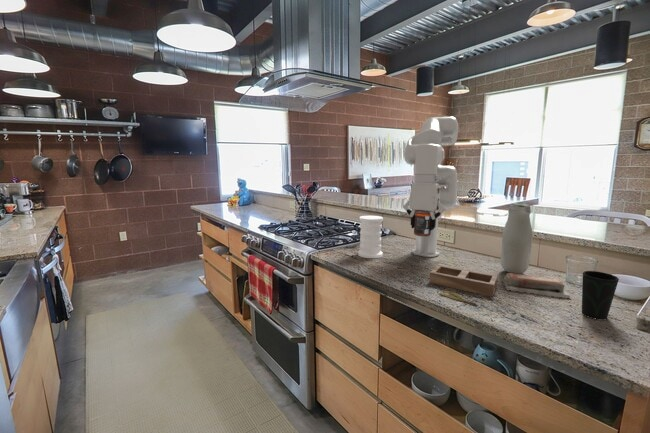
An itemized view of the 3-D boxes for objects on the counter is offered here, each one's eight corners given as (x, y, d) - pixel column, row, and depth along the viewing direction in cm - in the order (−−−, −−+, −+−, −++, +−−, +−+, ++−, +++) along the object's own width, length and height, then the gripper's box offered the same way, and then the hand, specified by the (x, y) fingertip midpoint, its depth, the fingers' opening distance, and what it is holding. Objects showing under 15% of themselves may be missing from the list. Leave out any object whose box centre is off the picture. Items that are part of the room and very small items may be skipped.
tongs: (476, 309, 95) (477, 303, 95) (437, 297, 105) (438, 291, 105) (483, 306, 98) (483, 299, 98) (444, 294, 108) (444, 288, 108)
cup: (570, 309, 94) (575, 271, 92) (594, 308, 95) (600, 270, 93) (594, 322, 87) (600, 280, 85) (619, 321, 87) (626, 280, 85)
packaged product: (507, 278, 108) (503, 269, 117) (506, 291, 108) (502, 281, 117) (572, 286, 101) (562, 276, 110) (570, 300, 102) (560, 289, 111)
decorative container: (387, 256, 147) (388, 218, 144) (365, 259, 142) (366, 220, 139) (374, 250, 157) (375, 214, 154) (353, 252, 153) (354, 216, 150)
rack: (437, 274, 123) (437, 264, 123) (496, 286, 112) (497, 275, 111) (429, 283, 115) (429, 272, 114) (492, 296, 103) (493, 285, 102)
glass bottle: (530, 272, 126) (538, 202, 121) (524, 279, 119) (533, 205, 114) (503, 266, 133) (509, 200, 128) (495, 272, 125) (502, 203, 121)
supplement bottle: (431, 237, 113) (433, 206, 111) (414, 236, 114) (415, 205, 112) (429, 233, 119) (431, 203, 117) (413, 232, 120) (414, 203, 118)
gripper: (453, 179, 111) (449, 229, 114) (406, 178, 121) (404, 224, 124) (447, 180, 105) (443, 233, 108) (398, 178, 115) (396, 227, 118)
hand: (422, 228), depth 116 cm, fingers closed on supplement bottle, 6 cm apart
